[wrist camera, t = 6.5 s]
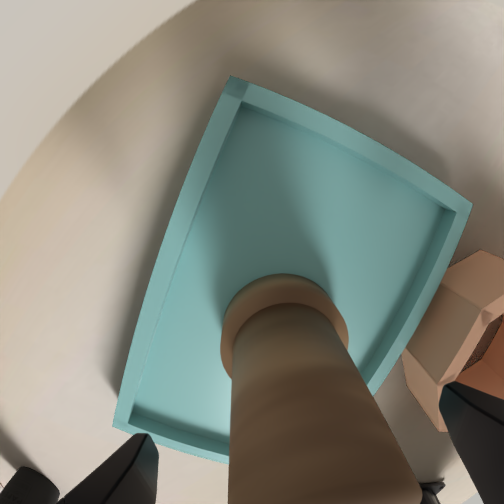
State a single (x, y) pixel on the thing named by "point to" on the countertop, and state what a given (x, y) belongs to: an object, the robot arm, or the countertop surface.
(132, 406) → the tray
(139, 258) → the countertop surface
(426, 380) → the mortar
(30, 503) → the drinking cup
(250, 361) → the pestle
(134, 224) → the countertop surface
